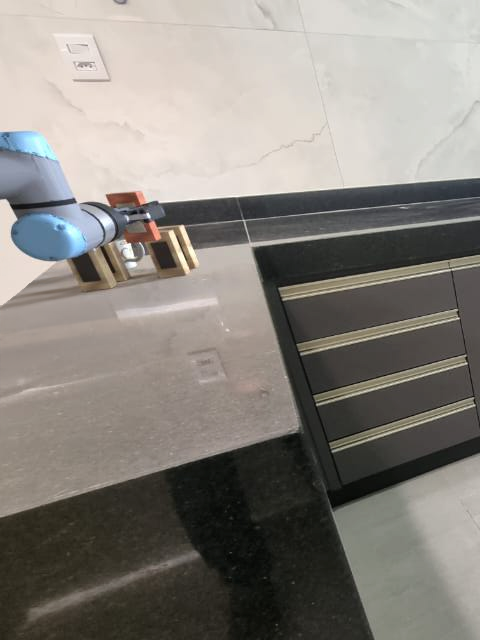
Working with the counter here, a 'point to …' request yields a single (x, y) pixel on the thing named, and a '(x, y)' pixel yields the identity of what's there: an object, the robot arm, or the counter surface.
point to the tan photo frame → (99, 268)
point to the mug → (129, 252)
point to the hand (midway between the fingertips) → (142, 208)
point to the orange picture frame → (139, 230)
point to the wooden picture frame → (172, 252)
